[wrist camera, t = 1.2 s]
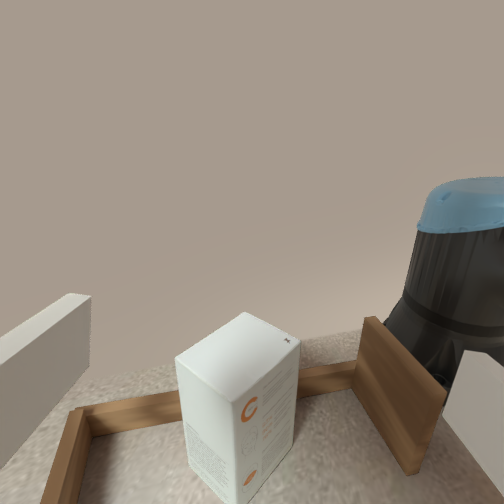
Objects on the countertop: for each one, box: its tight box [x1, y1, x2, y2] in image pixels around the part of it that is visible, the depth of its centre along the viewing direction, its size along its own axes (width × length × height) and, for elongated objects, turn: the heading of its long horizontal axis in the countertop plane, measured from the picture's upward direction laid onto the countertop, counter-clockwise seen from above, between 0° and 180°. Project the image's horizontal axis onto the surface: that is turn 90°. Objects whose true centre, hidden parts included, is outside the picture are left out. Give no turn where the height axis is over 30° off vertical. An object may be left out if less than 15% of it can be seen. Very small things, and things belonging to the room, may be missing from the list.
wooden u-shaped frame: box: [40, 316, 447, 504], centre depth 29 cm, size 30×11×10 cm, turn 103°
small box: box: [175, 312, 301, 504], centre depth 28 cm, size 8×6×13 cm
